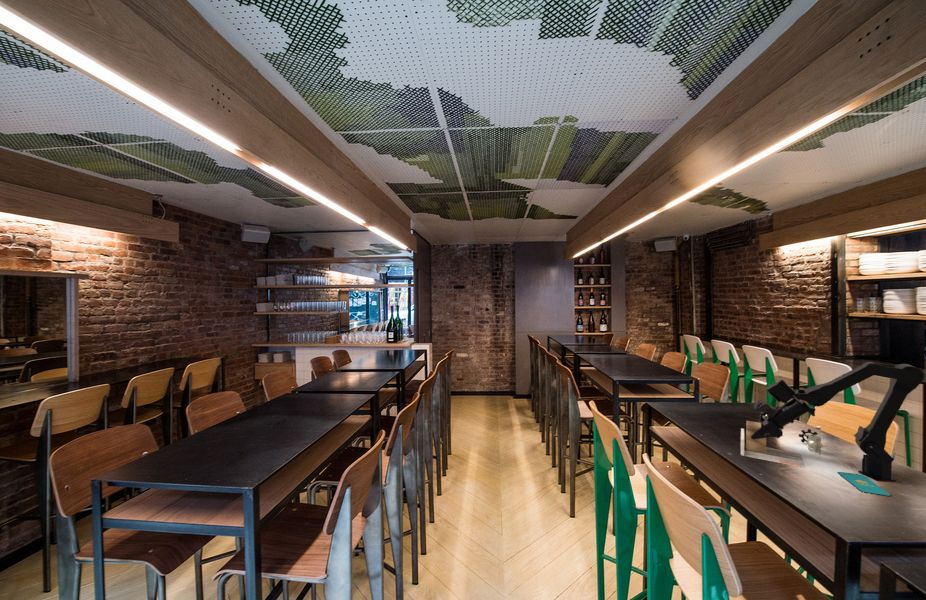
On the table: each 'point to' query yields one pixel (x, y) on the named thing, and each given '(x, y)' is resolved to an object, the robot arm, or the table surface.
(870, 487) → the smartphone
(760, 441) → the tan wooden block
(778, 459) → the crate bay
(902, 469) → the table surface
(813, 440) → the valve
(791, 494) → the table surface
